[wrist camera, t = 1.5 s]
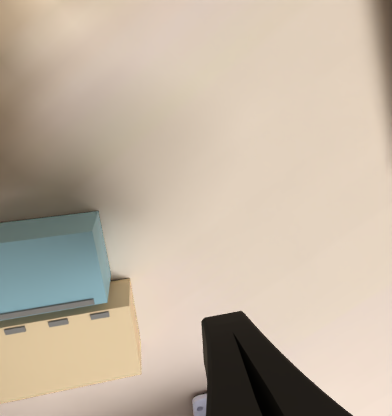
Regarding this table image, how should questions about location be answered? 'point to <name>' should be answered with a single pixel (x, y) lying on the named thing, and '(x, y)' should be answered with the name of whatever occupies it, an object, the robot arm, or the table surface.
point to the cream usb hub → (70, 347)
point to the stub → (52, 265)
